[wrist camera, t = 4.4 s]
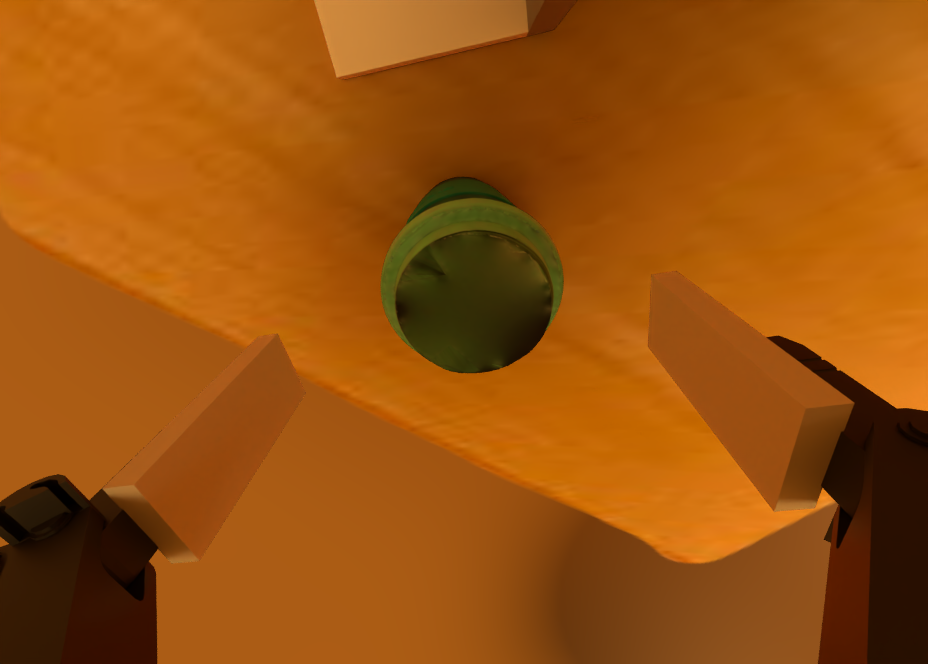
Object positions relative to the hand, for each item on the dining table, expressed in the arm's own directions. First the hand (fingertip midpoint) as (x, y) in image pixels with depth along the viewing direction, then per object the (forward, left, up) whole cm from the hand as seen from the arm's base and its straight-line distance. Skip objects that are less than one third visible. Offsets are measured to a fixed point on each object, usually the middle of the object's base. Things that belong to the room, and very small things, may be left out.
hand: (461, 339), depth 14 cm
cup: (0, 0, -15) cm, 15 cm away
